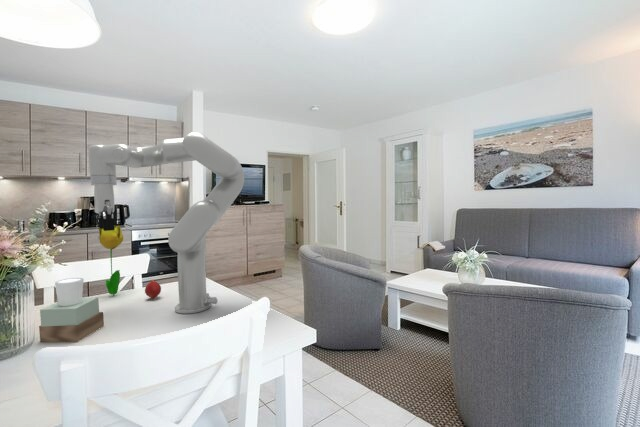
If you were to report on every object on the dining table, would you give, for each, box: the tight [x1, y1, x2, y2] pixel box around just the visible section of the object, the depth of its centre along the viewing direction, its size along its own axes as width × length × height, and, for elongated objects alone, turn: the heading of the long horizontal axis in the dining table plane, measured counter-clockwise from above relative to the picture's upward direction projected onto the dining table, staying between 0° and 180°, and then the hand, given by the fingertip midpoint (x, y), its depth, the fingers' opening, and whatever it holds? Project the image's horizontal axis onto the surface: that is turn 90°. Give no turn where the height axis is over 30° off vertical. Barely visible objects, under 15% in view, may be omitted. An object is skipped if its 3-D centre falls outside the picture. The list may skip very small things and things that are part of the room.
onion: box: [144, 279, 162, 300], centre depth 129 cm, size 6×6×8 cm
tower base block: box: [38, 311, 105, 343], centre depth 97 cm, size 11×11×5 cm
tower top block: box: [39, 296, 100, 327], centre depth 97 cm, size 10×10×5 cm
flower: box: [98, 224, 124, 297], centre depth 133 cm, size 9×8×30 cm
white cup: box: [54, 277, 84, 306], centre depth 96 cm, size 7×7×7 cm
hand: (106, 229), depth 112 cm, fingers open, 9 cm apart
